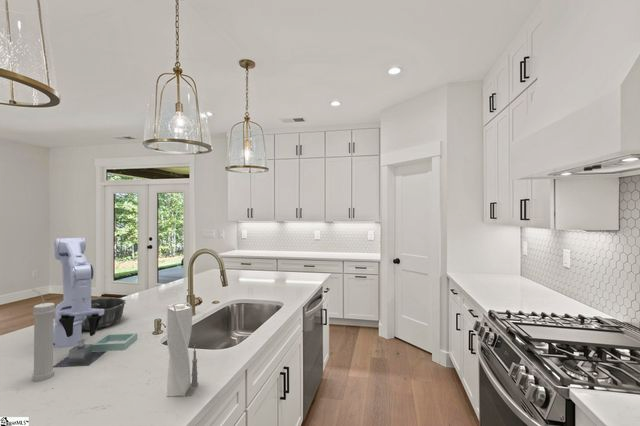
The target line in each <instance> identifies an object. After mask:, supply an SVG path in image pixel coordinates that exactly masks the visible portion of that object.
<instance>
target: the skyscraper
mask: <svg viewBox="0 0 640 426" xmlns="http://www.w3.org/2000/svg"><path fill="white" fill-rule="evenodd" d="M187 305H188V306H187ZM192 326H193V306H192V305H191V304H190V303H189V302H187V301H177V302H175V303H171V304H170V305H167V306H166V325H165V327H166V341H167V349H168V354H169V355H168V356H169V359H168V368H167V382H166V383H167V384H166V397H167V398H177V397H192V395H193V394H194V392H195V390H196V388H197V387H198V385H199V382H198V365H197V363H198V358H197V351H196V345H194V346H193V349H194V350H193V351H192V352H193V353H192V354H193V359H192V366H191V362H190V355H189V353H190V352H189V344H190V340H191V335H192V328H193V327H192ZM191 367H192V369H191Z"/></svg>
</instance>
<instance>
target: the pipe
mask: <svg viewBox="0 0 640 426" xmlns="http://www.w3.org/2000/svg"><path fill="white" fill-rule="evenodd" d="M31 290H32V291H34V292H36V293H38V294H39V295H40V297H41V298H42V301H43V303H39V304H36V305H34V306H33V308H32V310H33V311H32V315H33V316H34V323H33V324H34V328H33V329H34V330H33V331H34V332H33V333H34V334H33V335H34V336H33V342H34V343H33V373H32V374H31V378H32V381H33V382H43V381H47V380H49V379H51V378H53V377H54V376H55V369H56V368H53V366H54V347H53V327H54V323H55V308H56V305H55V302H45V299H44V297H43V295H42V294H41V292H39V291H38V290H36V289H34V288H33V289H31Z"/></svg>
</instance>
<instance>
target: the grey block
mask: <svg viewBox="0 0 640 426" xmlns="http://www.w3.org/2000/svg"><path fill="white" fill-rule="evenodd" d="M85 341H86V340H81V341H78V342H77V345H74V346H72V348H70V349H69V350H68V356H69V362H84V361H86V360H87V359H88V358H90V357H91V356H92V352H93V351H92V344H93V343H86V344H85Z"/></svg>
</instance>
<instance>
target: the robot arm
mask: <svg viewBox="0 0 640 426" xmlns="http://www.w3.org/2000/svg"><path fill="white" fill-rule="evenodd" d="M86 241H87V240H86V238H84V237H83V236H81V237H67V238H65V237H64V238H63V237H61V238H59V237H57V238H55V240H54V241H53V242H54V243H53V244H54V246H53V247H54V249H53V250H54V258H55V260H57V261H60V263H61V267H62V290H63V291H62V293H63V296H62V297H63V298H62V299H63V300H62V301H61V302H59V303H58V304H56V305H55V312H54V323H55V325H53V348H57V347H59V348H67V347H75V346H76V345H77V342H78V341H81V340H82V337H83V336H82V331H83V330H82V323H83V321H84V320H85V319H86V316H87V315H92V316H91V317H89V318H88V321H89V326H90V330H89V337H93V336H94V335H96V331H97V330H98V329H97V326H98V323H99V321H100V319H101V318H102V316H103V314H104V309H96V308H91V299H92V281H93V279H94V274H95V270H94V266H93V264H92V263H89V261H88V258H87V257H86V255H85V251H86V247H87V246H86V245H87V243H86ZM71 306H72V307H71ZM65 307H71V308H65ZM61 308H65V309H61Z"/></svg>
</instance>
